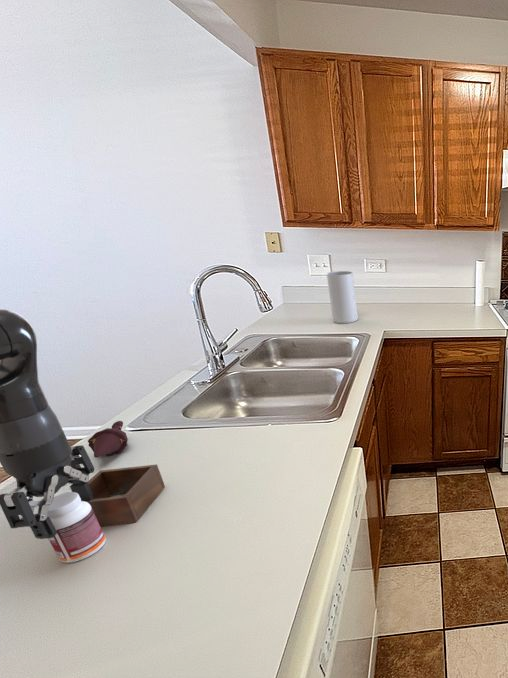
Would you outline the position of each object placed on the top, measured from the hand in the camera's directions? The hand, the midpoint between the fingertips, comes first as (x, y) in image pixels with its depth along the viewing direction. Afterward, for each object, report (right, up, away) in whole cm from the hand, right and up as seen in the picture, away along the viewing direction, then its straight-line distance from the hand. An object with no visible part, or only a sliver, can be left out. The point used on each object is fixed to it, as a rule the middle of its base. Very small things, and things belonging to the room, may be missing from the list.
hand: (68, 517), depth 68 cm
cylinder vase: (0, +48, +142) cm, 150 cm away
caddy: (-2, -3, +13) cm, 13 cm away
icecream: (-20, +4, +30) cm, 37 cm away
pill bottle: (0, -7, +3) cm, 8 cm away
